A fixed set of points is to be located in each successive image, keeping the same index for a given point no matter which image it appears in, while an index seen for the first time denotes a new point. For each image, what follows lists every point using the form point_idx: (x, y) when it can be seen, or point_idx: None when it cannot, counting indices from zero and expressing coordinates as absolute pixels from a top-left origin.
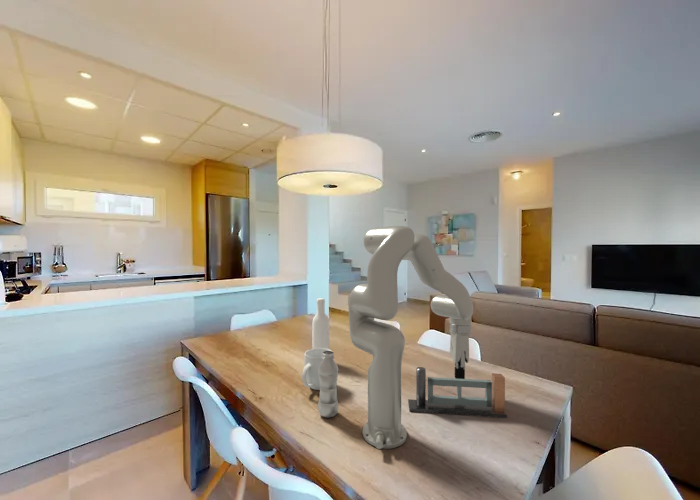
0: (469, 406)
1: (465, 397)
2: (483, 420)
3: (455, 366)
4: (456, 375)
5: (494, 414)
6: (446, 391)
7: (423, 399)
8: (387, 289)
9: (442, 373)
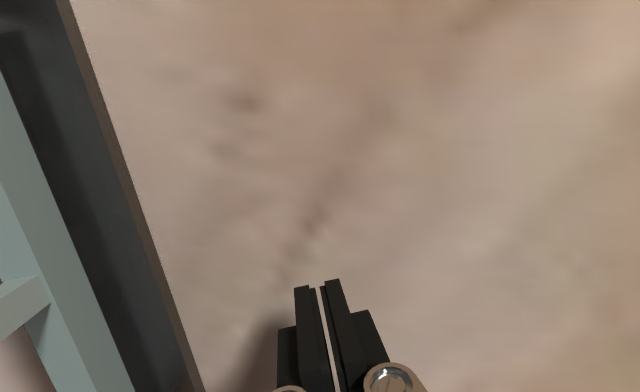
0: (119, 316)
1: (62, 335)
2: (35, 369)
3: (370, 370)
4: (298, 316)
5: None
6: (332, 167)
7: None
8: None
9: (632, 134)
